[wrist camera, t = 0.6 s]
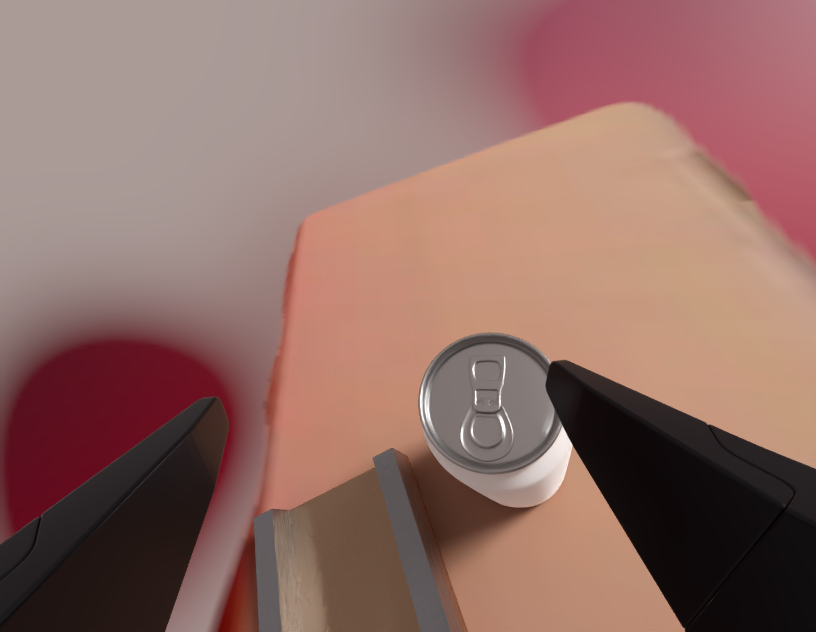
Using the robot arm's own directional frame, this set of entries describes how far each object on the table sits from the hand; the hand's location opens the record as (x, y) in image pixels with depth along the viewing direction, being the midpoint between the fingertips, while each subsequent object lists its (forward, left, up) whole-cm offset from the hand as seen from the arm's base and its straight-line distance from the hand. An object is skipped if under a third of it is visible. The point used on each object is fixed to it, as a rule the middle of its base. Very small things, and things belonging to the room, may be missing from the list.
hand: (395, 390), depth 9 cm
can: (0, -2, -17) cm, 17 cm away
